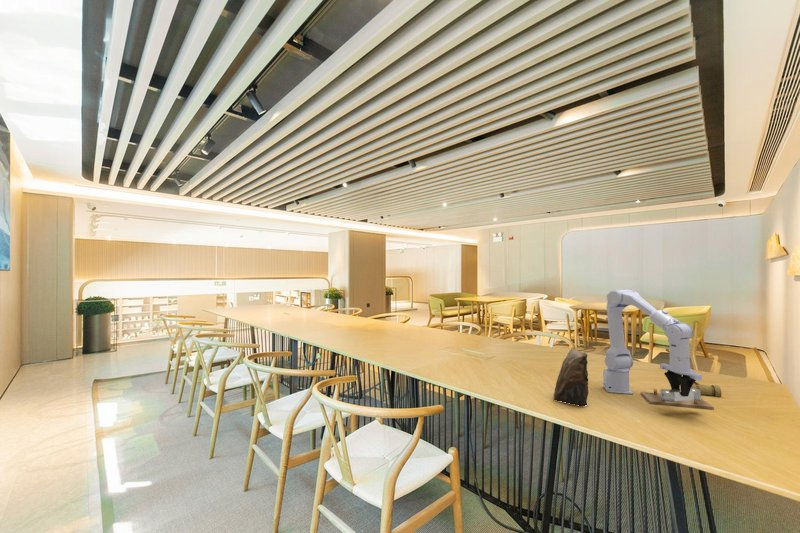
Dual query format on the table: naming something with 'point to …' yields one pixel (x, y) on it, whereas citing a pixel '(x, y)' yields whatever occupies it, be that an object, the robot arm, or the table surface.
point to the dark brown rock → (573, 379)
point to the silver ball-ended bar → (679, 395)
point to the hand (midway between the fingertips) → (680, 394)
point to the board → (656, 399)
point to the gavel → (708, 389)
